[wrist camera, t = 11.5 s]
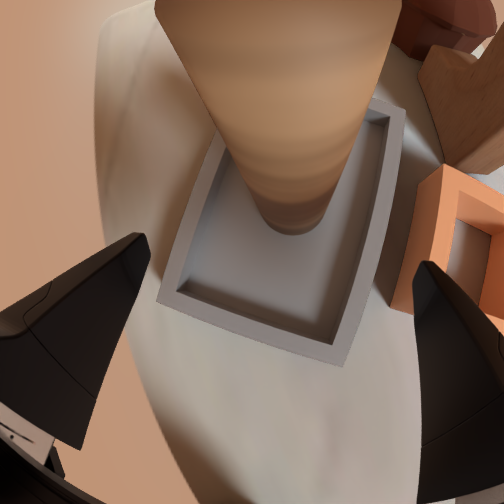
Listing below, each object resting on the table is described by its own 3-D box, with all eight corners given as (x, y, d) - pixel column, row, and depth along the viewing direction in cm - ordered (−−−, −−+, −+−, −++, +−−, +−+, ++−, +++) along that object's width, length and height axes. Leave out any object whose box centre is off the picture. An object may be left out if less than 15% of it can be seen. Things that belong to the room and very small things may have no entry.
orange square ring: (481, 335, 15) (513, 344, 11) (389, 307, 16) (414, 314, 12) (502, 225, 15) (534, 215, 11) (418, 184, 16) (443, 163, 13)
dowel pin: (331, 231, 16) (447, 50, 2) (263, 239, 17) (140, 78, 3) (320, 166, 17) (351, -57, 3) (255, 175, 17) (165, -36, 3)
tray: (336, 355, 16) (342, 367, 14) (173, 299, 18) (156, 301, 16) (395, 127, 17) (405, 109, 15) (249, 89, 19) (244, 68, 16)
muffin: (447, 18, 17) (471, -39, 7) (487, 90, 16) (534, 30, 6) (351, -2, 19) (357, -74, 9) (379, 66, 18) (405, -26, 8)
